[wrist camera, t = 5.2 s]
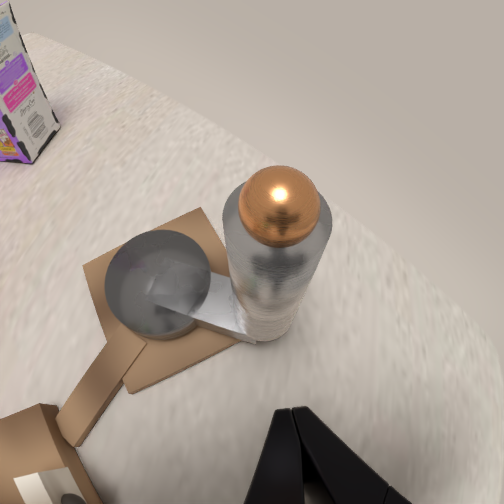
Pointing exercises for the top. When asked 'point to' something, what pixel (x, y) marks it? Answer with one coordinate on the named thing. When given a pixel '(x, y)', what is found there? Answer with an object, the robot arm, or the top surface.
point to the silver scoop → (239, 260)
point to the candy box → (21, 98)
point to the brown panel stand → (100, 388)
